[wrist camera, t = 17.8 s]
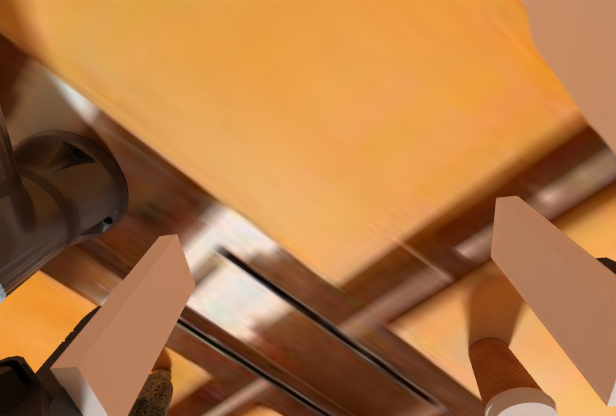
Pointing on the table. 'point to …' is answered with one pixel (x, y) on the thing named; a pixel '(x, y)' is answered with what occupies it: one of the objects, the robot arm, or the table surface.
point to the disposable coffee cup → (507, 382)
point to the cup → (154, 395)
